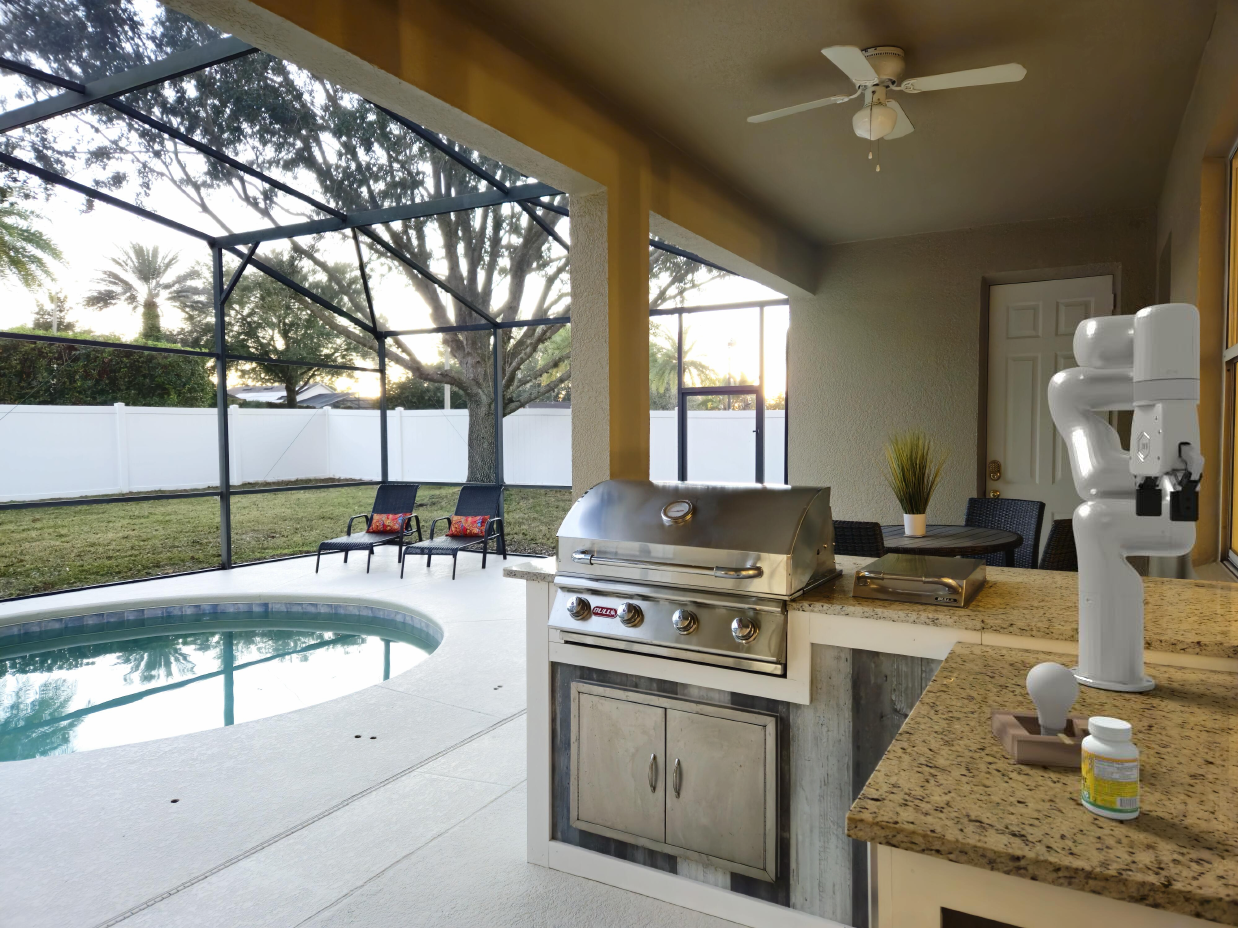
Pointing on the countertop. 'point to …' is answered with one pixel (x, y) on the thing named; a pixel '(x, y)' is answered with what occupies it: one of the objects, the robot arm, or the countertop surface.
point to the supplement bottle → (1110, 769)
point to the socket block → (1040, 738)
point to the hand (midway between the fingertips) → (1165, 518)
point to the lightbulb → (1052, 695)
